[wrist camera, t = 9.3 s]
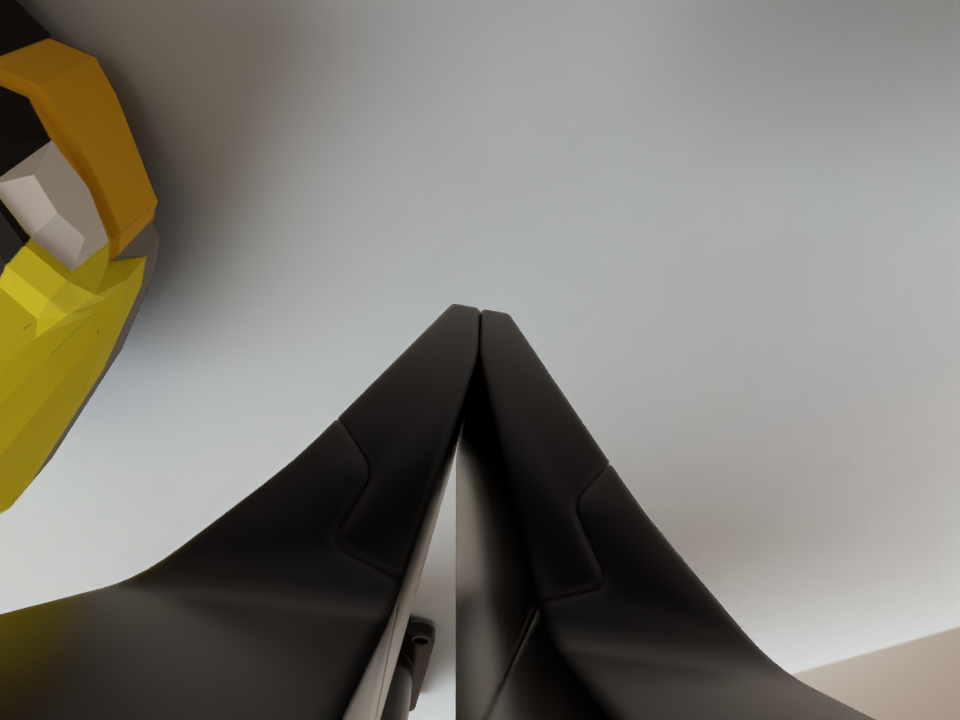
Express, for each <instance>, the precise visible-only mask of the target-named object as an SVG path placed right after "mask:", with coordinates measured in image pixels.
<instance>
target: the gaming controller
mask: <svg viewBox="0 0 960 720" xmlns="http://www.w3.org/2000/svg"><path fill="white" fill-rule="evenodd" d="M157 203H158V201H157V198H156V196H155V193H154V191H153V188H152V185H151V183H150V180H149V178H148V175H147V172H146V170H145V167H144V165H143V162H142V159H141V157H140V154H139V152H138V149H137V146H136V144H135V141H134V139H133V136H132V134H131V131H130V128H129V126H128V123H127V121H126V118H125V115H124V113H123V110H122V108H121V105H120V102H119V100H118V97H117V95H116V93H115V91H114V90H113V88H112V86H111V84H110V82H109V81H108V79H107V77H106V75H105V74H104V72H103V70H102V68H101V66H100V65H99V63H98V61H97V59H96V57H93V56H91V55H88V54H86V53H84V52H81V51H79V50H76V49H74V48H72V47H69V46H67V45H65V44H62V43H60V42H57V41H55V40H53V39H51V35H50V34H49V33H48V32H47V31H46V30H45V29H44V28H43V27H42V26H41V25H40V24H39V23H38V22H37V21H36V20H35V19H34V18H33V17H32V16H31V15H30V14H29V13H28V12H27V11H26V10H25V9H24V8H23V7H22V6H21V5H20V4H19V3H18V2H17V1H16V0H0V514H1V513H2V512H4V511H6V510H7V509H9V508H10V507H11V506H12V505H13V504H14V502H15V501H16V500H17V499H18V498H19V496H20V495H21V494H22V493H23V492H24V490H25V489H26V488H27V487H28V486H29V485H30V483H31V482H32V481H33V480H34V479H35V477H36V476H37V475H38V474H39V473H40V472H41V470H42V469H43V468H44V467H45V466H46V464H47V463H48V462H49V461H50V460H51V458H52V457H53V456H54V454H55V452H56V451H57V449H58V448H59V446H60V445H61V443H62V441H63V440H64V438H65V437H66V435H67V434H68V432H69V431H70V429H71V427H72V426H73V424H74V423H75V421H76V420H77V418H78V416H79V415H80V413H81V412H82V410H83V409H84V407H85V406H86V404H87V402H88V401H89V399H90V398H91V396H92V395H93V393H94V391H95V390H96V388H97V387H98V385H99V384H100V382H101V381H102V379H103V377H104V376H105V374H106V373H107V371H108V370H109V368H110V366H111V365H112V363H113V362H114V360H115V359H116V357H117V356H118V354H119V352H120V351H121V349H122V347H123V345H124V342H125V340H126V338H127V335H128V333H129V331H130V328H131V326H132V324H133V321H134V319H135V317H136V314H137V312H138V310H139V307H140V305H141V303H142V300H143V298H144V296H145V293H146V291H147V289H148V286H149V284H150V282H151V279H152V277H153V275H154V272H155V270H156V265H157V258H158V251H159V243H160V237H159V235H158V233H157V231H156V229H155V227H154V226H153V222H154V219H155V213H156V205H157Z"/></svg>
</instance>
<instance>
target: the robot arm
mask: <svg viewBox="0 0 960 720" xmlns="http://www.w3.org/2000/svg"><path fill="white" fill-rule="evenodd" d="M457 443H458V445H457ZM456 448H457V458H456V720H875V719H873V718H871V717H869V716H867V715H865V714H863V713H861V712H859V711H857V710H855V709H854V708H852V707H849V706H847V705H846V704H844V703H841V702H840V701H838V700H835V699H834V698H832V697H830V696H828V695H826V694H823V693H822V692H819V691H818V690H816V689H814V688H812V687H810V686H808V685H806V684H804V683H803V682H801V681H799V680H798V679H796V678H795V677H793V676H792V675H790V674H789V673H787V672H786V671H785V670H783V669H782V668H781V667H780V666H778V665H777V664H776V663H775V662H773V661H772V660H771V659H770V658H769V657H768V656H767V655H766V654H765V653H764V652H762V651H761V650H760V649H759V648H758V647H757V646H756V645H755V644H754V642H753V641H752V640H751V639H750V638H749V637H748V636H747V635H746V634H745V633H744V631H743V630H742V629H741V628H740V627H739V626H738V624H737V623H736V622H735V621H734V620H733V618H732V617H731V616H730V615H729V614H728V612H727V611H726V610H725V609H724V608H723V607H722V605H721V604H720V603H719V602H718V601H717V599H716V598H715V597H714V596H713V595H712V594H711V592H710V591H709V590H708V589H707V588H706V586H705V585H704V584H703V583H702V582H701V580H700V579H699V578H698V577H697V576H696V575H695V573H694V572H693V571H692V570H691V569H690V567H689V566H688V565H687V564H686V563H685V561H684V560H683V559H682V558H681V557H680V556H679V554H678V553H677V552H676V551H675V550H674V548H673V547H672V546H671V545H670V543H669V542H668V541H667V540H666V538H665V537H664V536H663V535H662V533H661V532H660V531H659V530H658V528H657V527H656V526H655V525H654V524H653V522H652V521H651V520H650V519H649V517H648V516H647V515H646V513H645V512H644V511H643V509H642V508H641V506H640V505H639V504H638V502H637V501H636V499H635V498H634V497H633V495H632V494H631V493H630V491H629V490H628V488H627V487H626V486H625V484H624V483H623V481H622V480H621V478H620V477H619V475H618V474H617V472H616V471H615V469H614V468H613V467H612V466H611V465H609V461H608V459H607V458H606V456H605V455H604V454H603V452H602V451H601V449H600V448H599V446H598V445H597V443H596V442H595V440H594V439H593V437H592V436H591V434H590V433H589V431H588V430H587V428H586V427H585V425H584V424H583V423H582V421H581V420H580V418H579V417H578V415H577V414H576V412H575V411H574V409H573V408H572V406H571V405H570V403H569V402H568V400H567V399H566V397H565V396H564V394H563V393H562V392H561V390H560V389H559V387H558V386H557V384H556V383H555V381H554V380H553V378H552V377H551V375H550V374H549V372H548V371H547V369H546V368H545V366H544V365H543V363H542V362H541V361H540V359H539V358H538V356H537V355H536V353H535V352H534V350H533V349H532V347H531V346H530V344H529V343H528V341H527V340H526V338H525V337H524V335H523V334H522V332H521V331H520V330H519V328H518V327H517V325H516V324H515V322H514V321H513V319H512V318H511V316H510V315H509V314H507V313H503V312H497V311H491V310H482V311H481V312H480V311H479V310H478V309H477V308H475V307H470V306H464V305H459V304H453V305H451V306H450V307H449V308H448V309H447V310H446V311H445V312H444V313H443V314H442V315H441V316H440V317H439V318H438V319H437V320H436V321H435V322H434V323H433V324H432V325H431V326H430V327H429V328H428V329H427V330H426V331H425V332H424V333H423V334H422V335H421V336H420V337H419V338H418V339H417V340H416V341H415V342H414V343H413V344H412V345H411V346H410V347H409V348H408V349H407V350H406V351H405V352H404V353H403V354H402V355H401V356H400V357H399V358H398V359H397V360H396V361H395V362H394V363H393V364H392V365H391V366H390V367H389V368H388V369H387V370H386V371H385V372H384V373H383V374H382V375H381V376H380V377H379V378H378V379H377V380H376V381H374V382H373V383H372V384H371V385H370V386H369V387H368V388H367V389H366V390H365V391H364V392H363V393H362V394H361V395H360V396H359V397H358V398H357V399H356V400H355V401H354V402H353V403H352V404H351V405H350V406H349V407H348V408H347V409H346V410H345V411H344V412H343V413H342V414H341V415H340V416H339V418H338V420H335V421H334V422H333V423H332V424H331V425H330V426H329V427H328V428H327V429H326V430H325V431H324V432H323V433H322V434H321V435H320V436H319V437H318V438H317V439H316V440H315V441H314V442H313V443H312V444H310V445H309V446H308V447H307V448H306V449H305V450H304V451H303V452H302V453H301V454H300V455H299V456H297V457H296V458H295V459H294V460H293V461H292V462H291V463H289V464H288V465H287V466H286V467H284V468H283V469H282V470H281V471H279V472H278V473H277V474H276V475H274V476H273V477H272V478H271V479H269V480H268V481H267V482H266V483H264V484H263V485H262V486H261V487H259V488H258V489H257V490H255V491H254V492H253V493H251V494H250V495H249V496H247V497H246V498H245V499H243V500H242V501H241V502H240V503H238V504H237V505H236V506H234V507H233V508H232V509H230V510H229V511H228V512H226V513H225V514H224V515H222V516H221V517H220V518H218V519H217V520H216V521H214V522H213V523H212V524H211V525H209V526H208V527H207V528H205V529H204V530H203V531H201V532H200V533H199V534H197V535H196V536H195V537H193V538H192V539H191V540H189V541H188V542H187V543H185V544H184V545H183V546H182V547H180V548H179V549H178V550H176V551H175V552H173V553H172V554H171V555H169V556H168V557H166V558H165V559H163V560H162V561H160V562H159V563H157V564H155V565H154V566H152V567H150V568H149V569H147V570H145V571H143V572H141V573H139V574H137V575H135V576H133V577H131V578H129V579H127V580H124V581H122V582H120V583H117V584H114V585H111V586H108V587H104V588H101V589H97V590H93V591H89V592H85V593H81V594H78V595H74V596H70V597H66V598H62V599H58V600H54V601H51V602H47V603H43V604H39V605H35V606H31V607H27V608H24V609H20V610H16V611H12V612H8V613H4V614H0V720H408V715H409V711H412V710H414V708H415V706H416V702H417V699H418V696H419V692H420V689H421V686H422V682H423V679H424V676H425V672H426V669H427V666H428V662H429V659H430V656H431V652H432V649H433V645H434V640H435V629H434V628H433V627H432V626H430V625H428V624H424V623H417V622H410V621H408V620H409V616H410V613H411V609H412V605H413V602H414V598H415V595H416V591H417V588H418V584H419V581H420V577H421V574H422V570H423V567H424V563H425V560H426V556H427V553H428V549H429V546H430V542H431V538H432V535H433V531H434V528H435V524H436V521H437V517H438V514H439V510H440V507H441V503H442V500H443V496H444V493H445V489H446V486H447V482H448V478H449V475H450V471H451V468H452V464H453V460H454V456H455V452H456Z"/></svg>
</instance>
